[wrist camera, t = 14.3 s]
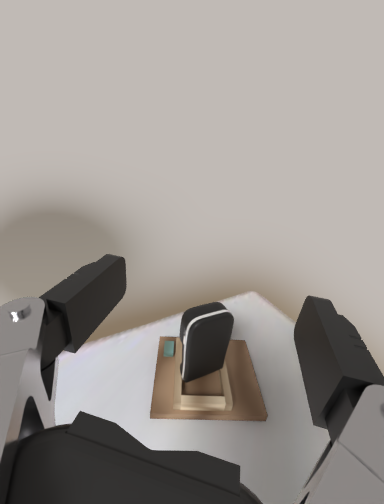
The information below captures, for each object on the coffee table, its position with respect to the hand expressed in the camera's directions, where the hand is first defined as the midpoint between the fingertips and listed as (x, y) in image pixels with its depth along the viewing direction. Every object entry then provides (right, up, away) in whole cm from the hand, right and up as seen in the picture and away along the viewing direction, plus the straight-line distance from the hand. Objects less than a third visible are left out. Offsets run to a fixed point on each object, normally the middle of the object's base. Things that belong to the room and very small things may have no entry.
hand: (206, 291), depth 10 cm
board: (+1, -18, +27) cm, 32 cm away
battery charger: (0, -16, +25) cm, 30 cm away
